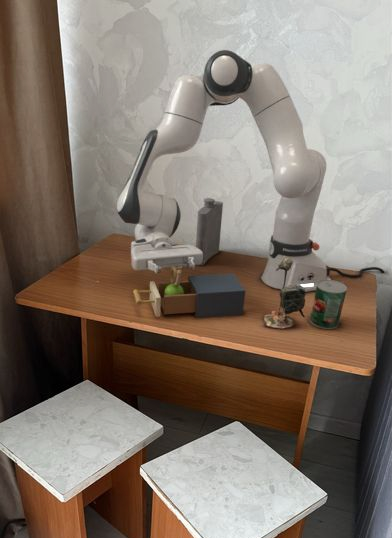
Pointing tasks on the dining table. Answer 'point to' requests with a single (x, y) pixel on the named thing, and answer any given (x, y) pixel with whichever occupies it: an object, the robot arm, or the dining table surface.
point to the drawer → (169, 298)
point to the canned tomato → (328, 304)
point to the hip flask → (209, 228)
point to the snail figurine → (175, 282)
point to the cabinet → (218, 295)
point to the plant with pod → (287, 300)
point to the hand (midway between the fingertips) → (175, 268)
